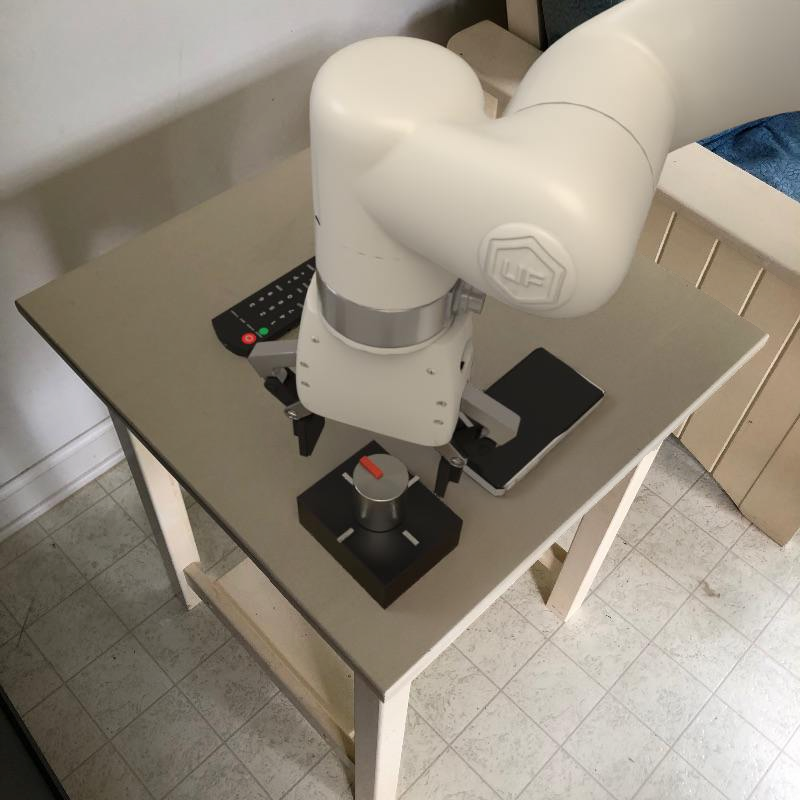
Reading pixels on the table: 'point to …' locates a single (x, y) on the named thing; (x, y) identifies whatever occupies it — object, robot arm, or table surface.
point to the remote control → (265, 311)
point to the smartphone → (534, 416)
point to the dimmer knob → (380, 492)
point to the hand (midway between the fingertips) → (377, 459)
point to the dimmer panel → (379, 551)
